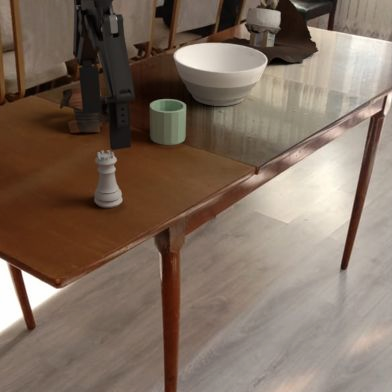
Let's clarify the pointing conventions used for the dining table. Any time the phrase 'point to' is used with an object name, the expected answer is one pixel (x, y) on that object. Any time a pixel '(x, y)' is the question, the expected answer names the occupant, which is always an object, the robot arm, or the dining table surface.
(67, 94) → the pottery mug
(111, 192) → the rook chess piece
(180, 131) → the green cylindrical cup
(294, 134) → the dining table surface
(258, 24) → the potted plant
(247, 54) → the bowl
